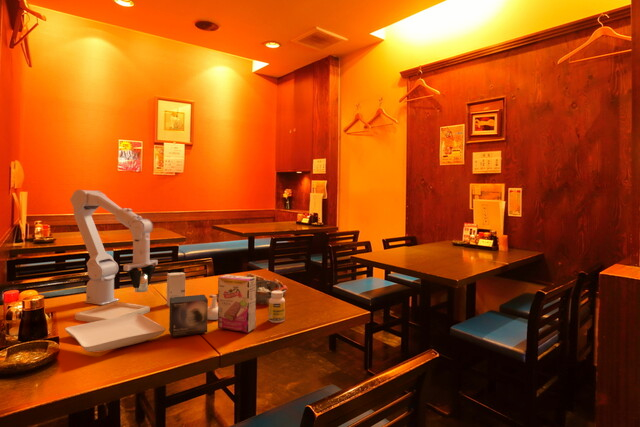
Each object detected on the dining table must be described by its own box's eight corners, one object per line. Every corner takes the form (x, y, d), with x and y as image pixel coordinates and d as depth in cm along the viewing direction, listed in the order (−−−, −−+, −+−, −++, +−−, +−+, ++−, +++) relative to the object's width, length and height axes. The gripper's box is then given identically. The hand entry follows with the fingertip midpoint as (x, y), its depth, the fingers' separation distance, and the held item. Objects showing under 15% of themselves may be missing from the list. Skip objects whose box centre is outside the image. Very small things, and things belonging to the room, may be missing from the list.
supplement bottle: (272, 324, 122) (272, 294, 122) (266, 319, 127) (266, 290, 127) (287, 321, 125) (287, 292, 124) (280, 317, 129) (281, 289, 129)
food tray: (304, 297, 159) (304, 272, 159) (280, 314, 135) (280, 285, 134) (231, 290, 169) (231, 267, 169) (197, 305, 145) (197, 278, 145)
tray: (74, 319, 123) (74, 313, 123) (116, 306, 138) (116, 301, 138) (110, 325, 118) (110, 319, 118) (149, 311, 133) (149, 306, 133)
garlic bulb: (206, 315, 131) (206, 292, 130) (224, 315, 131) (224, 293, 130) (201, 321, 124) (201, 297, 124) (220, 321, 124) (220, 297, 124)
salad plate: (139, 322, 123) (139, 311, 123) (167, 339, 108) (167, 327, 108) (63, 338, 108) (63, 326, 108) (83, 361, 93) (83, 347, 93)
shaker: (132, 291, 141) (132, 274, 140) (141, 289, 145) (141, 272, 145) (141, 292, 139) (141, 275, 139) (150, 290, 143) (150, 273, 143)
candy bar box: (216, 328, 117) (217, 277, 116) (225, 324, 121) (226, 274, 121) (248, 333, 113) (248, 280, 113) (256, 328, 118) (256, 276, 117)
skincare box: (168, 307, 139) (168, 275, 139) (166, 304, 143) (166, 273, 142) (185, 305, 142) (185, 273, 142) (182, 302, 146) (183, 271, 146)
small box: (170, 338, 108) (171, 302, 108) (168, 331, 114) (168, 297, 114) (208, 332, 113) (208, 298, 113) (204, 326, 119) (204, 293, 119)
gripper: (134, 254, 133) (133, 291, 134) (163, 249, 147) (163, 283, 147) (119, 252, 136) (119, 289, 136) (149, 248, 149) (149, 281, 150)
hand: (141, 286), depth 142 cm, fingers closed on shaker, 4 cm apart
